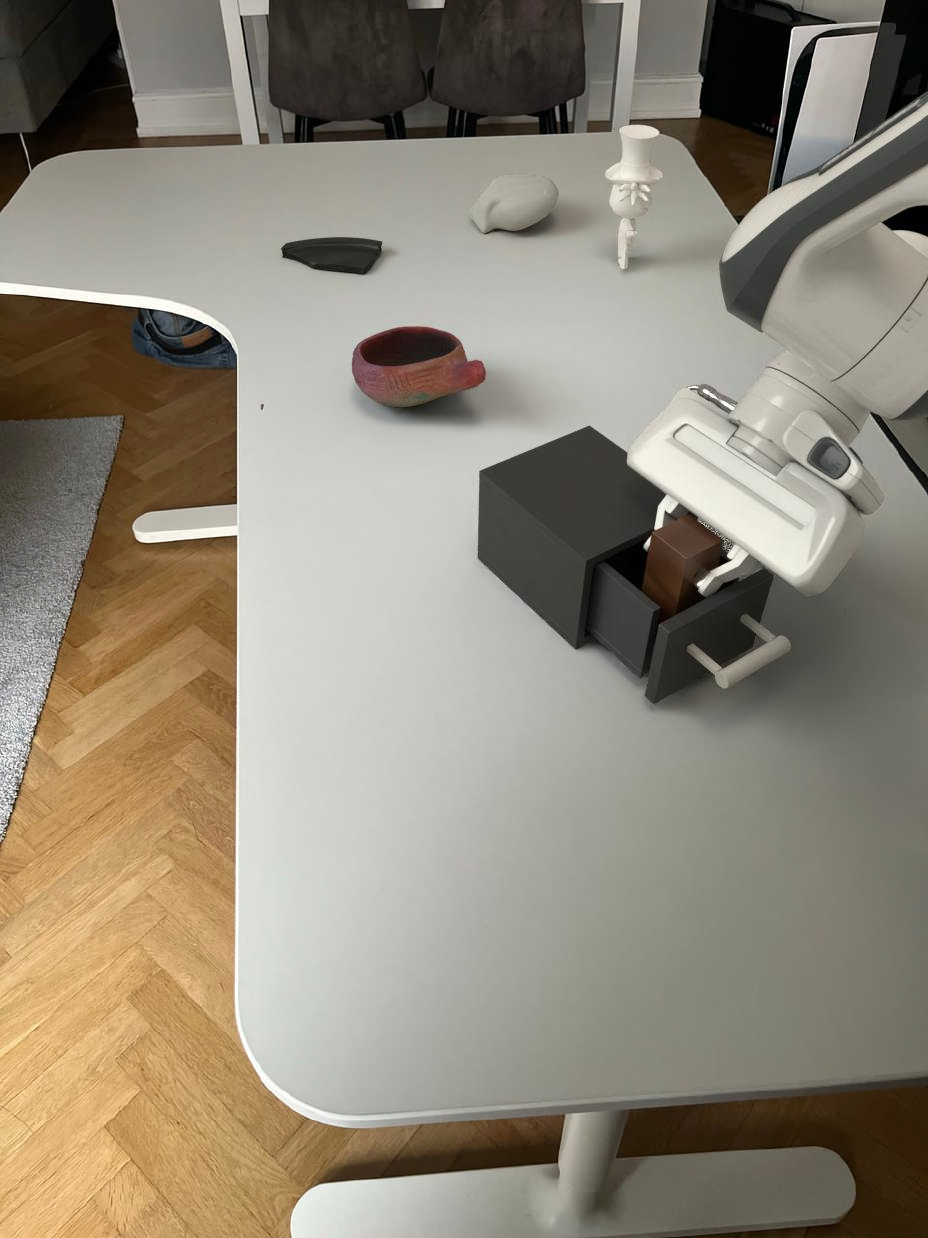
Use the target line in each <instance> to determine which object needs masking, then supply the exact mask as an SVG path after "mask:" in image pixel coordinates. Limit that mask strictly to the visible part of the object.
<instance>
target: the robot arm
mask: <svg viewBox="0 0 928 1238" xmlns="http://www.w3.org/2000/svg"><path fill="white" fill-rule="evenodd" d="M918 206H928V91H926V92H924V93H923V94H921V95H920V96H919V97H917V98H916V99H914V100H912V101H911V102H909V104H906V105H905V106H904V107H903V108H901V109H900V110H898V111H897V112H895V113H894V114H893V115H891V116H890V117H888V118H887V119H885V120H884V121H882V122H881V123H880V124H878V125H876V126H875V127H874V128H872V129H871V130H869V131H868V132H867V133H865V134H863V136H861V137H859V138H858V139H857V140H855V141H853V142H852V143H851V144H849V145H847V146H846V147H845V148H843V149H842V150H841V151H839V152H837V153H836V154H835V155H833V156H831V157H830V158H829V159H827V160H826V161H824V162H823V163H821V164H820V165H818V166H816V167H815V168H813V169H811V170H809V171H806V172H804V173H802V174H799V175H797V176H795V177H792V178H791V179H789V180H787V181H786V182H785V183H783V184H782V185H781V186H779V187H778V188H776V189H775V190H773V191H771V192H770V193H769V194H767V195H766V196H764V197H763V198H762V199H761V200H760V201H758V202H757V203H756V204H755V205H754V206H753V207H752V208H751V210H749V212H747V213H746V214H745V216H744V217H743V219H742V220H741V221H740V223H739V224H738V225H737V226H736V228H735V229H734V231H733V233H732V234H731V236H730V237H729V239H728V241H727V243H726V246H725V248H724V251H723V253H722V255H721V257H720V258H719V262H718V271H719V272H718V273H719V280H720V281H719V282H720V288H721V293H722V297H723V302H724V304H725V305H724V306H725V308H726V311H727V312H728V313H729V314H730V315H732V316H734V317H735V318H737V319H739V320H740V321H741V322H743V323H745V324H747V325H748V326H750V327H751V328H753V329H754V330H756V331H757V332H759V333H764V334H765V335H766V336H768V337H769V338H770V339H772V340H773V341H774V342H776V343H777V344H778V345H780V346H781V347H783V348H784V350H783V351H782V352H781V353H780V354H778V355H777V356H775V357H774V358H773V359H771V361H769V363H767V365H766V366H765V367H764V368H763V370H762V371H761V372H760V373H759V375H758V376H757V377H756V379H755V380H754V381H753V383H752V384H751V385H750V386H749V388H748V389H747V390H746V392H745V393H744V394H743V396H742V397H741V398H740V399H739V401H736V400H734V399H733V398H731V397H729V396H727V395H724V394H723V393H720V392H719V391H718V390H717V389H716V388H715V387H713V386H712V385H710V384H707V383H701V384H700V385H698V384H692V385H688V386H685V387H682V388H681V389H680V390H679V391H677V393H675V395H674V396H673V398H672V399H671V400H670V401H669V403H668V405H667V406H666V407H665V408H664V409H663V410H662V411H661V412H660V413H659V414H657V416H656V417H655V418H654V419H653V420H652V421H651V422H650V423H649V424H648V425H647V426H646V427H645V428H644V429H643V430H642V432H641V433H640V434H639V435H638V436H637V437H636V439H635V440H634V441H633V442H632V444H631V445H630V446H629V448H628V450H627V453H628V454H627V465H628V466H629V467H630V468H631V469H633V470H634V471H635V472H637V473H638V474H639V475H641V476H642V477H643V478H645V479H646V480H647V481H649V482H650V483H652V484H653V485H654V486H656V487H657V488H658V489H660V490H661V491H663V492H664V493H665V494H667V495H666V496H665V498H664V499H663V500H662V502H661V503H660V504H659V506H658V510H657V516H656V522H655V528H654V529H655V530H657V529H659V528H661V527H663V526H665V525H667V524H669V523H671V522H673V521H675V518H676V519H677V520H678V519H680V518H682V517H684V516H685V515H686V514H687V513H688V512H689V511H690V512H691V513H693V514H694V515H695V516H697V517H698V519H700V520H701V521H702V522H704V524H707V526H709V527H710V528H712V529H713V530H715V531H716V532H718V533H719V534H720V535H722V536H723V537H724V538H726V539H727V540H728V541H730V542H731V543H732V544H734V545H733V547H732V548H731V549H730V550H729V552H728V555H727V557H728V558H729V559H731V560H732V561H730V562H728V563H726V564H724V565H722V566H720V567H718V568H716V569H714V570H712V571H708V570H707V569H705V568H704V567H701V569H700V570H699V571H698V572H697V576H696V577H693V579H692V580H691V582H690V585H691V586H692V587H693V588H694V589H695V590H697V591H698V592H699V593H700V594H702V595H703V596H705V597H706V598H708V597H710V596H712V595H714V594H715V592H716V591H717V590H718V589H719V587H720V586H721V585H722V584H723V582H725V583H726V582H728V581H731V580H733V579H735V578H738V577H740V578H741V577H742V576H745V575H748V574H749V573H750V572H751V571H752V570H753V568H754V567H755V566H756V564H757V563H760V564H761V565H763V566H764V568H766V569H767V570H770V572H771V573H773V574H774V575H775V576H778V577H779V578H780V579H782V580H783V581H784V582H786V583H788V584H789V586H791V587H792V588H794V589H795V590H796V591H798V592H800V593H801V594H803V596H806V597H810V596H814V595H818V594H821V593H823V592H825V591H826V590H827V589H828V588H829V587H830V586H831V585H832V583H833V582H834V581H835V580H836V579H837V577H838V576H839V574H840V573H841V572H842V571H843V569H844V568H845V566H846V565H847V563H848V562H849V561H850V559H851V558H852V556H853V554H854V553H855V551H856V550H857V548H858V546H859V544H860V543H861V541H862V538H863V536H864V532H865V521H864V518H863V516H862V515H864V516H871V515H872V514H874V513H875V512H876V511H877V510H878V509H879V508H880V506H882V504H883V503H884V500H885V495H884V493H883V491H882V489H881V487H880V485H879V484H878V482H877V480H876V479H875V478H874V477H873V475H872V474H871V473H870V472H869V471H868V469H867V468H866V466H865V465H863V464H864V461H863V460H862V458H861V456H859V454H858V453H857V451H855V449H853V447H851V445H852V443H853V442H854V441H855V440H856V438H857V437H858V436H859V434H860V433H861V432H862V430H863V428H864V426H865V424H866V421H867V419H868V417H869V416H870V414H871V413H873V414H875V415H878V416H880V417H883V418H886V419H888V420H889V421H895V422H896V421H911V420H919V419H925V418H928V235H924V234H922V233H919V232H915V231H911V230H902V229H901V230H900V229H898V230H895V229H894V230H892V229H891V228H889V227H888V226H887V225H885V224H884V223H883V222H884V221H886V220H888V219H890V218H892V217H894V216H895V215H897V214H899V213H901V212H903V211H905V210H906V209H909V208H913V207H918ZM695 391H696V392H695ZM650 540H651V536H650V538H649V539H648V540H647V541H646V543H645V544H644V547H643V548H644V549H645V550H646V551H647V552H648V551H649V546H650Z"/></svg>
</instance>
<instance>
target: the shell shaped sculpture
mask: <svg viewBox="0 0 928 1238" xmlns="http://www.w3.org/2000/svg"><path fill="white" fill-rule="evenodd" d="M559 195H560V191H559V189H558V187H557V185H556V183H554V181H553V179H552V178H550V177H547V176H544V175H537V174H534V173H508V174H504V175H500V176H496V177H495V178H494V179H493V181H491V182H490V183H489V185H488V186H487V187H486V189H485V191H484V192H482V194H480V196H479V197H478V198H477V200H476V202H475V203H474V204H473V205H472V206H471V208H470V210H469V215H470V216H471V219H472V221H473V223H474V224H475V225H476V226H477V228H478V229H479V231H480V232H481V233H482V234H487V233H489V232H491V231H493V230H496V229H500V230H504V231H510V232H511V231H512V232H516V231H522V230H524V229H526V228H528V227H530V226H531V227H532V226H533V225H535V224H537V223H538V222H540V221H541V220H543V219H544V218H546V217H547V216H548V215H549V214H550V213H551V212H552V211H553V209H554V208H555V206H556V205H557V203H558V199H559Z"/></svg>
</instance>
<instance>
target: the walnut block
mask: <svg viewBox="0 0 928 1238" xmlns="http://www.w3.org/2000/svg"><path fill="white" fill-rule="evenodd" d="M724 542H725V540H724V539H723V538H722V537H721V536H719V535H718V534H716V533H715V532H713V530H711V529H710V528H708V527H707V526H705V525H704V524H703V523H701V521H699V520H698V521H697V520H696V519H694V518H693V517H692V516H690V515H689V514H688V515H686V516H684V517H682V518H680V519H678V520H675V521H673V522H671V523H669V524H667V525H665V526H663V527H661V528H659V529H657V530H655V531H653V532H652V534H651V540H650V546H649V551H648V557H647V563H646V568H645V574H644V580H643V585H642V591H641V592H642V593H643V594H645V595H646V596H647V597H648V598H650V599H651V600H652V601H653V602H654V603H656V604H657V605H658V606H659V607H660V613H659V618H658V621H659V622H660V623H662V622H664V621H666V620H668V619H670V618H671V617H673V616H675V615H677V614H679V613H681V612H682V611H684V610H686V609H688V608H690V607H692V606H694V605H695V604H697V603H699V602H701V601H703V600H705V599H707V598H706V597H705V596H703V595H702V594H700V593H699V592H698V591H697V590H695V589H694V588H693V587H692V586H691V585H690V582H691V580H692V579H693V577H696V576H697V572H698V571H699V570H700V569H701V567H704V568H705V569H707V570H708V571H712V570H714V569H716V568H717V567H718V563H719V559H720V555H721V551H722V548H723V546H724Z"/></svg>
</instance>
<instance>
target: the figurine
mask: <svg viewBox="0 0 928 1238" xmlns="http://www.w3.org/2000/svg"><path fill="white" fill-rule="evenodd" d="M618 132H619V136H620V140H621V149H622V155H621V158H620V161H619V162H616V163H615V164H613V165H612V166H610V167H608V168H607V169H606V170H605V173H604V176H605V178H606V179H607V180H608V181H609V182H611V183H613V185H612V187H611V188H612V189H611V191H610V195H609V198H608V199H609V200H608V203H609V206H610V209H611V210H612V212H613V213H614V214H615V215H617V216H619V217H621V218H622V219H621V221H620V223H619V226H618V236H617V258H618V259H617V261H618V265H619V268H620V269H623V270H626V269H628V267H629V251H631V250H632V248H633V247H634V243H635V237H637V236H638V232H637V231H636V227H637V225H636V223H637V222H636V220H635V219H637V218H640V217H643V216H645V215H647V213H648V212H649V209H650V208H651V207H652V205H653V198H652V194H651V193H652V188H651V187H650V185H656V184H658V183H660V182H661V181H662V180H663V177H664V174H663V172H662V171H661V170H659V169H658V168H656V167H655V166H653V165H652V164H651V153H652V150H653V148H654V145H655V143H656V140H657V139H658V137H659V135H660V131H659V130H658V129H657V128H656V127H652V126H650V125H645V124H628V125H624V126H621V127H620V128H619V130H618Z"/></svg>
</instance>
